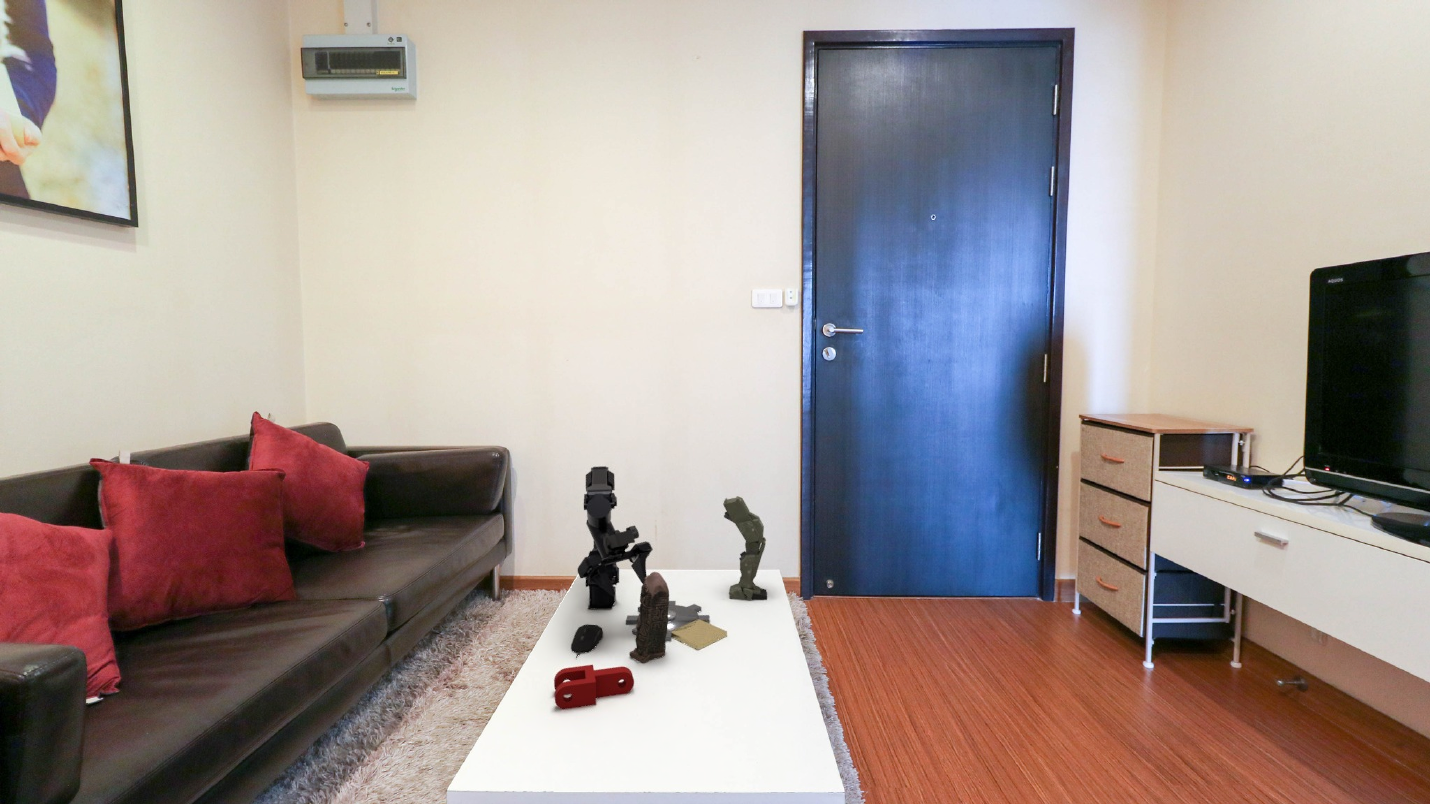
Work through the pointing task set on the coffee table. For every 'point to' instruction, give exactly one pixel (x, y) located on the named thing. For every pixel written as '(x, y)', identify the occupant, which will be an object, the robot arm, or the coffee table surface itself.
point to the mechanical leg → (747, 549)
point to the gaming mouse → (586, 638)
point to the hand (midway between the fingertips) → (630, 590)
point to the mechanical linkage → (590, 685)
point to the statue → (652, 619)
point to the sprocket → (686, 626)
